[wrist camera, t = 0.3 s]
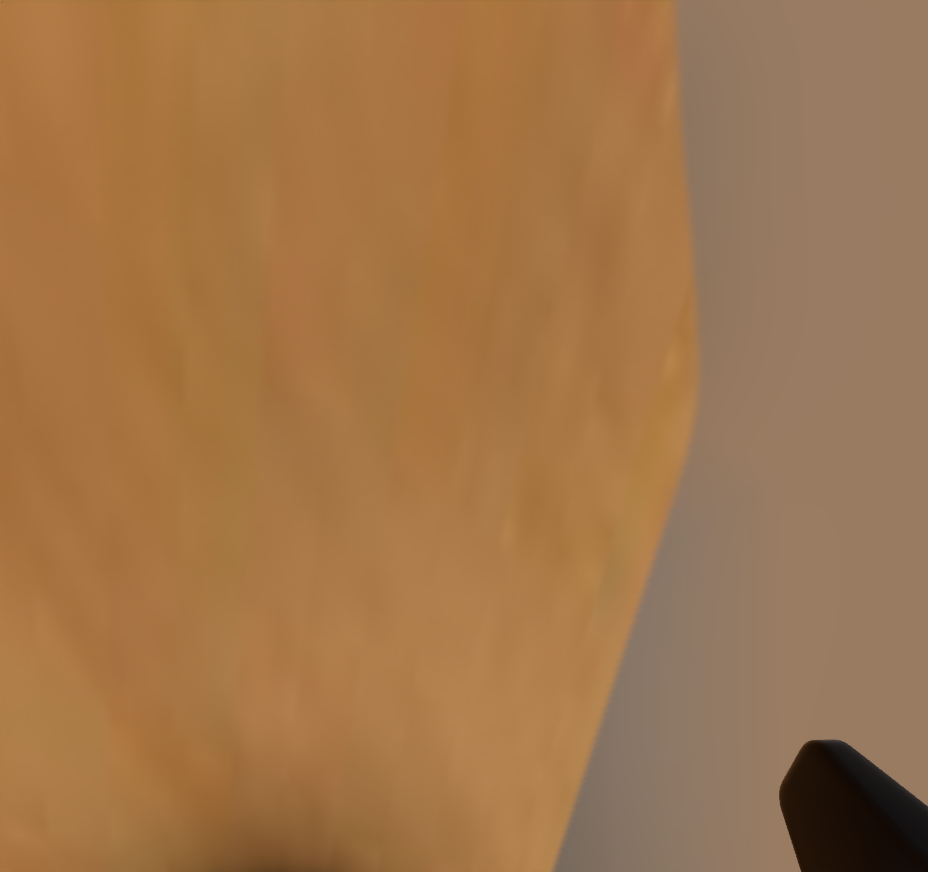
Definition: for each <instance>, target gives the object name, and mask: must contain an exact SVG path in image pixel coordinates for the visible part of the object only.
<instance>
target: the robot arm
mask: <svg viewBox="0 0 928 872" xmlns="http://www.w3.org/2000/svg"><path fill="white" fill-rule="evenodd" d="M779 800H780V806H781V810H782V813H783V816H784V819H785V823H786V825H787V829H788V832H789V835H790V838H791V841H792V844H793V848H794V851H795V854H796V857H797V860H798V863H799V866H800V869H801V872H928V806H927V805H925V804H924V803H923V802H922V801H920V800H919V799H918V798H916V797H915V796H914V795H913V794H911V793H910V792H909V791H907V790H906V789H905V788H904V787H902V786H901V785H900V784H898V783H897V782H896V781H895V780H893V779H892V778H891V777H890V776H888V775H887V774H886V773H884V772H883V771H882V770H881V769H879V768H878V767H877V766H875V765H874V764H873V763H872V762H870V761H869V760H868V759H867V758H865V757H864V756H863V755H861V754H860V753H859V752H858V751H856V750H855V749H853V748H852V747H851V746H850V745H848V744H847V743H845V742H843V741H840V740H811V741H809V742H807V743H805V744H804V745H803V747H802V748H801V750H800V751H799V753H798V755H797V756H796V758H795V760H794V762H793V764H792V765H791V767H790V769H789V771H788V772H787V774H786V776H785V778H784V780H783V781H782V784H781V786H780V791H779Z"/></svg>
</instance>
